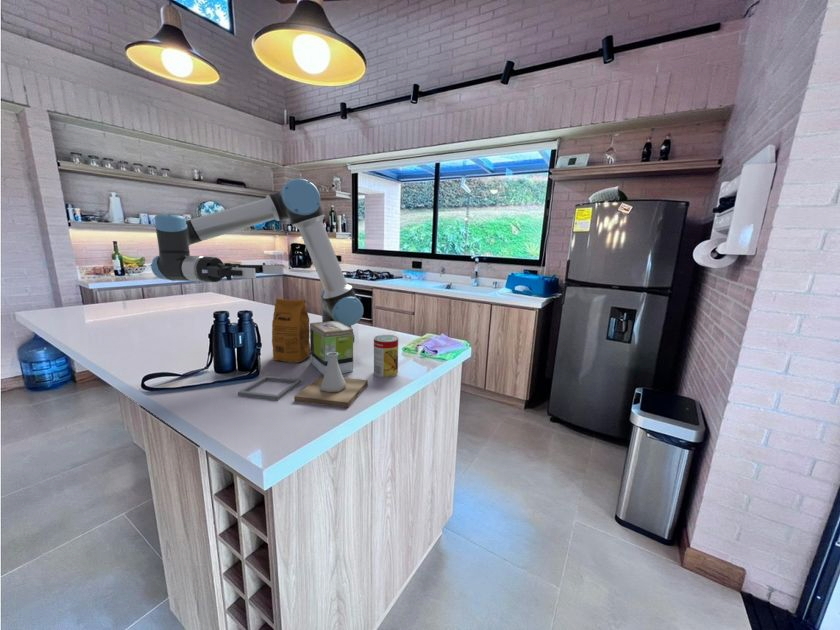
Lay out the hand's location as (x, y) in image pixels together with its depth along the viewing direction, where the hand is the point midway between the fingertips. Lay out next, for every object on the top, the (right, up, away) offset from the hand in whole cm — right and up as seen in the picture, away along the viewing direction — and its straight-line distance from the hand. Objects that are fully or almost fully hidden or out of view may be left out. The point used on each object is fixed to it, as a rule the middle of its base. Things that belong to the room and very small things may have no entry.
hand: (269, 271), depth 96 cm
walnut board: (+19, -35, -3) cm, 40 cm away
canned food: (+33, -32, +12) cm, 47 cm away
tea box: (+14, -31, +16) cm, 37 cm away
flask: (+19, -33, -3) cm, 39 cm away
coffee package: (-3, -29, +24) cm, 37 cm away
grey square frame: (+1, -34, -2) cm, 34 cm away
